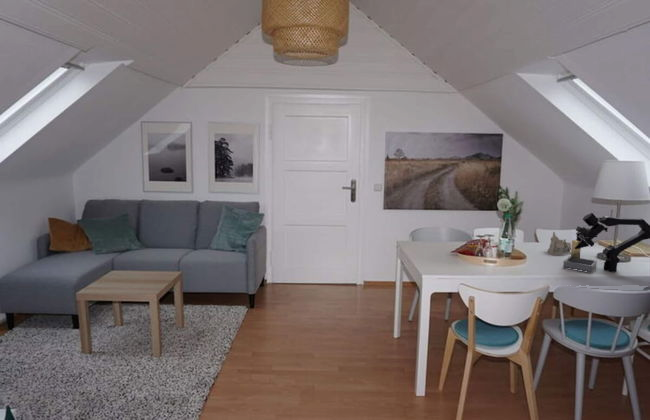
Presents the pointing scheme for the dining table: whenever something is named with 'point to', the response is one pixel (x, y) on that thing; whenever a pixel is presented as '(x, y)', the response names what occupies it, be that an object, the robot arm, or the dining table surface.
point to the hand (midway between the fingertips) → (573, 247)
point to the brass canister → (575, 250)
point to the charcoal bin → (580, 264)
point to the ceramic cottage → (559, 246)
